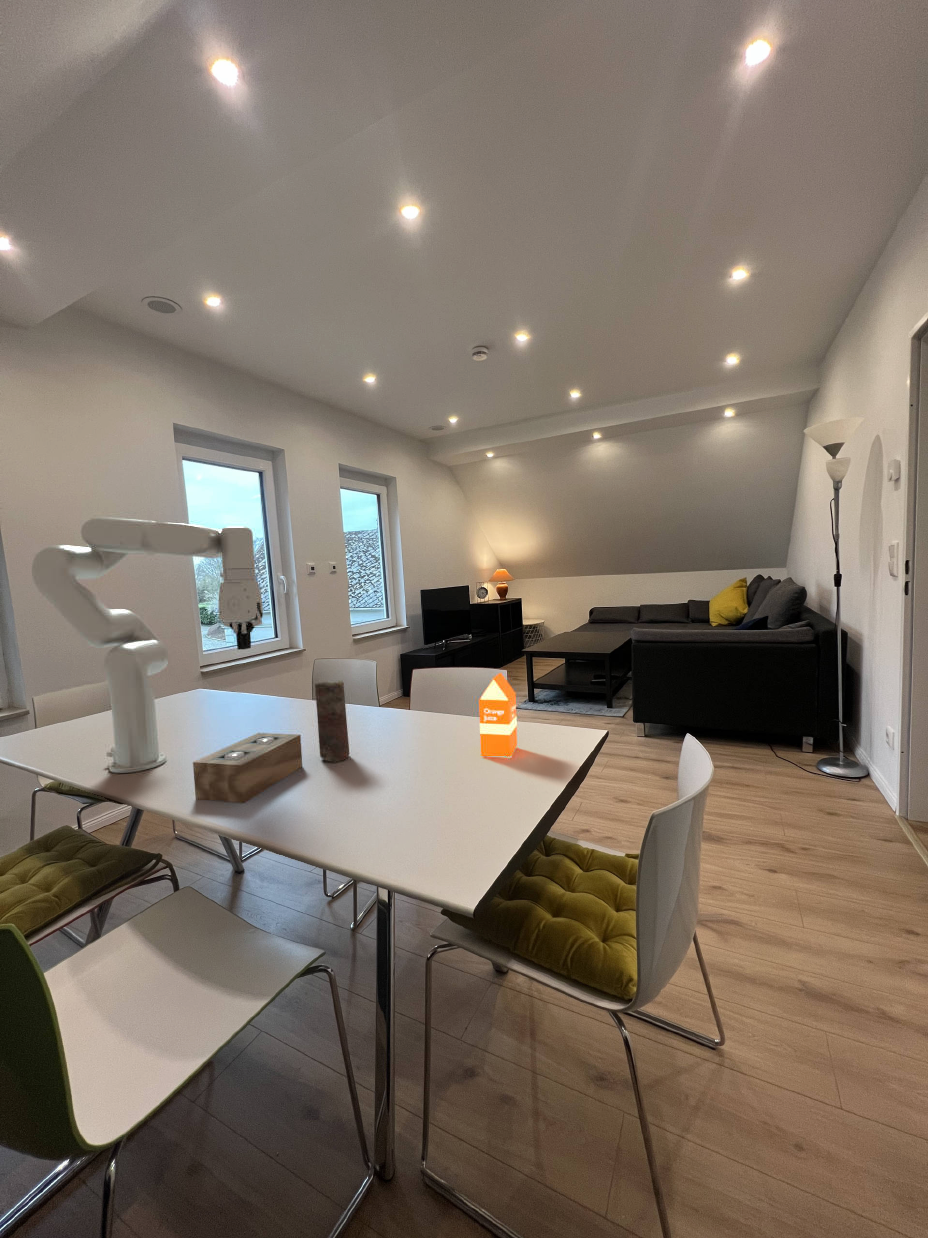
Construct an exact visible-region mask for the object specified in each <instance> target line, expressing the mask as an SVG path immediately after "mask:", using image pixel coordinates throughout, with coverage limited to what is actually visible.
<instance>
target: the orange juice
mask: <svg viewBox="0 0 928 1238" xmlns="http://www.w3.org/2000/svg"><path fill="white" fill-rule="evenodd" d="M516 695H517V693H516V692H515V691H514V689H513V687H512V686H511V685H510V683H509V682H508V680H507V679H506V677H505V676H504V675H503V673H502V672H499V673H498V674H497V675H495V676H494V677H492V680H491V682H490V684H489V685H488V686H487V688H486V689H485V690H484V692H483V694H482V695H481V697H480V698H479V699H478V708H479V734H480V735H479V736H480V739H479V741H480V757H481V756H507V757H508V756H509V757H510V756H511V755H512V753H513V752H514V750H515V748H516V746H517V747H518V732H517V731H518V730H517V729H518V728H517V725H518V724H517V723H518V722H517V719H518V718H517V702H516V701H517V700H516V699H517V697H516ZM514 753H515V752H514ZM512 756H513V755H512Z"/></svg>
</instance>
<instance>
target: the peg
mask: <svg viewBox="0 0 928 1238" xmlns="http://www.w3.org/2000/svg"><path fill="white" fill-rule="evenodd" d="M242 756H244V752H233V753H229V754H226V755H225V756H224V757H225V759H238V758H240V757H242Z"/></svg>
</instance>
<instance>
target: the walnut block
mask: <svg viewBox="0 0 928 1238" xmlns="http://www.w3.org/2000/svg"><path fill="white" fill-rule="evenodd" d="M268 737H271V738H274V741H272V742H270V743H268V744H265V743H257V740H258V739H261V738H268ZM301 739H302V737H301V734H293V733H275V732H274V733H273V732H272V733H269V732H257V733H255V734H253V735H251V736H248V737H245V738H243V739H241V740H239V741H237V742H234V743H232V744H230V745H229V746H226V747H223V748H221V749H219V750H216V751H214V752H212V753H210V754H208V755H205V756H203V757H200V758H198V759H197V760H194V761H193V762H192V768H193V780H194V795H195V796H194V797H195V800H204V801H205V800H206V801H217V802H227V803H228V802H230V803H241V804H244V803H246V802H248V801H250V799H252V798H254V797H256V796H257V795H259V794H261V793H262V792H264V791H266V790H267V789H269V788H270V787H271V786H273V785H274V784H276V783H278V782H280V781H282V780H283V779H284V778H286V777H288V776H289V775H291V774H292V773H294V772H296V771H297V770H299V769H301V768H303V757H302V755H303V754H302V740H301ZM233 752H244V756H242V757H240V758H238V759H225V757H224V756H225V755H226V754H229V753H233Z"/></svg>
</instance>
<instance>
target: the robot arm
mask: <svg viewBox="0 0 928 1238" xmlns="http://www.w3.org/2000/svg"><path fill="white" fill-rule="evenodd" d="M80 535H81V539H82V540H83V542H84V543H85V544H86V545H87V546H76V545H66V544H65V545H64V544H57V545H51V546H47V547H44V548H42V549H40V550H39V551H38V552H37V553H36V554H35V556H34V558H33V561H32V564H31V575H32V576H31V577H32V580H33V583H34V585H35V587H36V589H37V591H38V592H39V593H40V594H41V595H42V596H43V597H44V598H45V599H46V600H47V601H48V602H49V603H50V604H51V605H52V606H53V607H54V608H55V609H56V610H57V611H58V612H59V613H60V615H61V616H62V617H63V618H64V620H65V621H66V622H67V623H68V624H69V625H70V626H71V627H72V628H73V629H74V630H75V632H76V633H78V634H77V635H79V636H80V637H81V638H82V640H83V641H85V642H86V644H88V645H89V646H91V647H93V648H97V649H99V648H100V649H102V648H104V649H105V648H109V647H113V648H111V649H110V650H109V651H107V653H106V654H105V656H104V659H103V662H102V663H103V666H102V667H103V672H104V676H105V679H106V683H107V686H108V691H109V697H110V708H111V715H112V716H111V719H112V728H113V730H112V731H113V739H114V747H111V748H110V751H108V752H106V757H108V758H112V760H113V761H112V762H111V763H110V764H109V766H108V768H109V771H110V772H111V773H115V774H129V773H135V772H141V771H145V770H150V769H153V768H156V767H158V766H160V765H162V764H164V763H165V762H166V761H167V755H166V754H165V753H161V752H160V750H159V747H160V746H159V737H158V736H159V735H158V725H157V712H156V711H157V709H156V701H155V700H156V699H155V693H154V692H155V691H154V688H153V686H152V683H151V681H150V679H149V676H152V675H155V674H158V673H160V672H162V671H163V670H164V669H165V668H166V667H167V666H168V663H169V660H170V654H169V651H168V649H167V647H166V645H165V643H164V642H163V641H162V640H161V639H160V638H159V636H158V635H156V634H155V632H154V631H153V630H152V629H151V628H150V627H149V626H148V625H147V623H146V622H145V621H144V620H143V619H142V618H141V617H140V616H139V615H138V614H136V613H135V612H133V611H131V610H129V609H128V610H127V609H125V608H124V609H123V608H116V609H115V608H114V609H111V608H108V607H107V606H106V605H105V604H103V602H101V600H100V599H99V598H98V596H96V594H95V593H93V591H92V590H91V589H89V588H87V587H86V586H84V585H83V584H81V583H80V582H79V581H78V580H95V579H99V578H100V577H102V576H105V574H107V573H108V572H109V571H111V570H113V568H114V567H116V566H118V564H119V563H121V562H122V561H123V560H124V559H126V558H127V557H128V556H129V555H130V554H135V555H146V556H153V555H155V554H161V555H162V554H164V555H173V556H174V555H176V556H184V557H185V556H187V557H195V558H196V557H197V558H205V559H207V558H208V559H216V558H221V561H222V563H221V564H222V565H221V566H222V572H221V573H220V575H219V576H220V578H221V579H222V582H221V583H220V586H219V592H218V617H219V620H220V621H221V622H223V623H222V624H223V626H224V627H227V628H228V627H229V628H230V629H231V630H232V631H233V634H235V635H236V647H237V650H248V649H251V647H252V638H251V633H253V631H254V630H253V629H255V628H256V627H258V626H261V625H262V624H263V621H262V619H263V617H264V609H263V600H262V594H261V589H260V586H259V582H258V581H257V580H256V566H255V565H256V564H255V551H254V536H253V531H252V529H251V528H249V527H246V526H225V527H223V528H222V529H218V528H211V527H207V526H203V525H197V524H187V523H177V522H176V523H175V522H165V521H164V522H162V521H154V520H145V519H133V518H121V517H119V518H117V517H108V516H107V517H106V516H98V517H92V518H90V519H87V520H86V521H85V522H84V523H83V525H82V526H81V529H80Z"/></svg>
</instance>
